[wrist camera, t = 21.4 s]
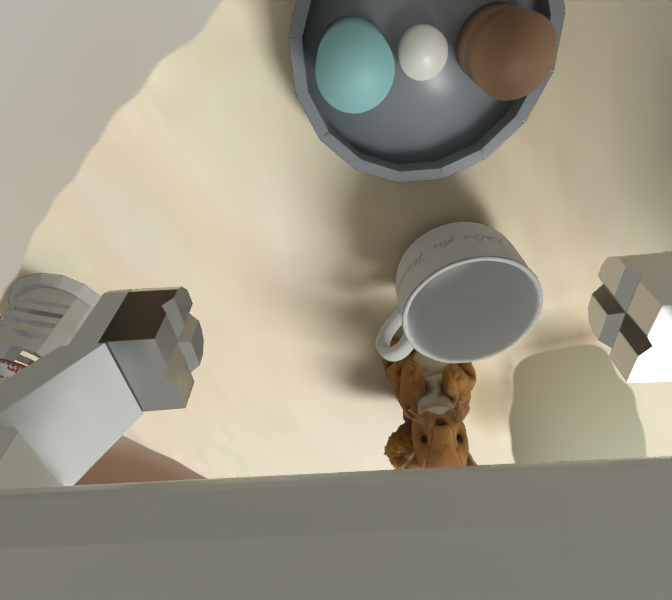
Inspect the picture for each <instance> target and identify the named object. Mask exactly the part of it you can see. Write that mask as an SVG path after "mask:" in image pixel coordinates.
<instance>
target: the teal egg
mask: <svg viewBox="0 0 672 600" xmlns="http://www.w3.org/2000/svg"><path fill="white" fill-rule="evenodd" d="M394 72H395V65H394V58H393V55H392V52H391V49H390V47H389V45H388V44H387V42H386V40H385V38H384V37H383V35H382V33H381V32H380V30H379V29H378V27H377V26H376V25H375V24H374V23H373V22H371V21H370V20H368V19H367V18H364V17H361V16H357V15H349V16H344V17H341V18H339V19H337V20H335V21H334V22H332V23H331V24H330V25H329V26H328V27H327V29H326V30H325V31H324V33H323V35H322V37H321V39H320V42H319V46H318V52H317V59H316V68H315V73H316V81H317V85H318V88H319V90H320V92H321V94H322V96H323V97H324V98H325V100H326V101H327V102H328V103H329V104H330V105H331V106H333V107H334V108H336V109H338V110H340V111H342V112H346V113H362V112H366V111H368V110H370V109H372V108H374V107H376V106H377V105H378V104H379V103H380V102H381V101H382V100H383V99H384V98H385V97H386V95H387V94H388V92H389V90H390V88H391V86H392V83H393V79H394Z"/></svg>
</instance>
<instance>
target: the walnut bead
mask: <svg viewBox="0 0 672 600" xmlns="http://www.w3.org/2000/svg"><path fill="white" fill-rule="evenodd" d="M557 48H558V41H557V35H556V31H555V29H554V27H553V25H552V23H551V22H550V21H549V20H548V19H547V18H546V17H545V16H544V15H542V14H540V13H538V12H535V11H532V10H528V9H525V8H522V7H519V6H516V5H513V4H509V3H506V2H491V3H488V4H485V5H483V6H481V7H479V8H478V9H476V10H475V11H474V12H473V13H472V14H471V15H470V16H469V17H468V18H467V19H466V21H465V22H464V24H463V25H462V27H461V29H460V32H459V34H458V38H457V42H456V57H457V61H458V63H459V66H460V67H461V69H462V70H463V72H464V73H465V74H466V75H467V76H468V77H469V78H470V79H472V80H473V81H474V82H475V83H476V84H477V85H478V86H479V87H480V88H481V89H482V90H483V91H484V92H485V93H486V94H487V95H489V96H490V97H492V98H495V99H498V100H504V101H509V100H515V99H519V98H522V97H524V96H526V95H528V94H530V93H531V92H532V91H534V90H535V89H536V88H537V87H539V86H540V85H541V84H542V82H543V81H544V80H545V79H546V77H547V76H548V74H549V73H550V71H551V69H552V67H553V65H554V62H555V59H556V55H557Z"/></svg>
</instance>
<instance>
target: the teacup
mask: <svg viewBox="0 0 672 600" xmlns="http://www.w3.org/2000/svg"><path fill="white" fill-rule="evenodd" d="M396 293H397V299H398V306H397V308H396V310H395V311H394V312H393V313H392V314H391V315H390V317H389V318H388V319H387V320H386V321H385V323H384V324H383V325H382V327H381V328H380V330H379V332H378V334H377V337H376V341H375V345H376V349H377V351H378V353H379V354H380V355H381V356H382V357H383V358H384V359H386V360H388V361H394V362H396V361H399V360H402V359H403V358H405V357H406V356H407V355H409V354H410V352H411V351H412V350H413V349H414V348H415V349H416V350H417V351H418V352H420V353H421V354H423V355H425V356H427V357H429V358H432V359H434V360H437V361H440V362H446V363H469V362H474V361H479V360H483V359H486V358H490V357H492V356H495V355H497V354H499V353H501V352H503V351H505V350H507V349H509V348H510V347H512V346H513V345H515V344H516V343H517V342H519V341H520V340H521V339H522V338H523V337H524V336H525V335H526V334H527V333H528V332H529V331H530V330H531V328H532V327H533V326H534V324H535V323H536V321H537V319H538V317H539V315H540V312H541V308H542V303H543V295H542V288H541V285H540V282H539V280H538V278H537V277H536V275H535V274H534V273H533V272H532V270H531V269H530V268H528V266H527V265H526V263H525V262H524V260H523V259H522V257H521V256H520V255H519V253H518V252H517V250H516V249H515V248H514V247H513V245H512V244H511V243H510V242H509V241H508V240H507V239H506V238H505V237H504V236H503V235H502V234H501V233H499V232H498V231H496V230H495V229H493V228H491V227H489V226H487V225H483V224H480V223H475V222H454V223H448V224H445V225H441V226H438V227H436V228H434V229H432V230H430V231H428V232H426V233H424V234H423V235H422V236H420V237H419V238H418V239H417V240H415V241H414V242H413V243H412V244H411V245H410V246H409V248H408V249H407V250H406V252H405V253H404V255H403V257H402V258H401V261H400V263H399V266H398V269H397V273H396ZM401 325H402V327H403V331H404V332H403V335H402V337H401V339H400V340H399V342H398V343H397V344H395V345H394V346H392V347H389V346H390V342H391V339H392V337H393V336H394V334H395V333H396V331H397V330H398V329H399V327H400V326H401Z"/></svg>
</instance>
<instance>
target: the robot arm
mask: <svg viewBox="0 0 672 600" xmlns="http://www.w3.org/2000/svg"><path fill="white" fill-rule="evenodd" d="M598 276H599V278H600V280H601V281H602V283H603V285H602V286H601V287H599V288H598V289H597V290H596V291H595V292H594V293H593V294H592V296H591V299H590V303H589V306H588V316H589V323H590V326H591V329H592V331H593V333H594V334H595V336H596V338H597V339H598V340H599V341H601V342H602V343H604V344H606V345H608V346H610V347H611V348H612V349H611V353H610V356H609V357H610V358H611V360H612V361H613V363H614V364H615V366H616V367H617V369H618V370H619V371H620V373H621V374H622V376H623V377H624V379H625V380H626V382H627V383H628V382H658V381H672V251H668V252H663V253H652V254H640V255H628V256H616V257H608V258H607V259H606V260H605V261H604V263H603V264H602V266H601V269H600V272H599V274H598ZM192 304H193V303H192V301H191V298H190V296H189V293H188V291H187V290H186V289H185V288H183V287H166V288H146V289H134V290H132V289H127V290H114V291H108V292H106V293H104V294H103V295H102V297H101V298H100V300H99V301H98V302H97V304H96V305H95V307H94V308H93V310H92V311H91V313H90V314H89V316H88V317H87V319H86V320H85V322H84V323H83V325H82V326H81V327H80V329H79V330H78V332H77V333H76V335H75V336H74V338H73V339H72V341H71V342H70V344H69V345H66V346H59V347H58V348H56V349H54V350H53V351H51V352H50V353H48V354H46V355H45V356H43V357H41V358H40V359H38V360H37V361H35V362H33V363H32V364H30V365H29V366H27V367H25V368H24V369H22V370H20V371H19V372H17V373H16V374H14V375H12V376H11V377H9V378H8V379H6V380H4V381H3V382H1V383H0V600H672V456H658V457H638V458H620V459H600V460H599V459H598V460H578V461H558V462H538V463H518V464H498V465H478V466H458V467H438V468H418V469H398V470H378V471H358V472H338V473H318V474H298V475H277V476H257V477H237V478H217V479H197V480H177V481H158V482H139V483H118V484H98V485H78V486H73V485H74V484H75V483H76V482H77V481H78V480H79V479H80V478H81V477H82V476H83V475H84V474H85V473H86V472H87V471H88V470H89V469H90V468H91V467H92V465H94V463H96V462H97V461H98V459H99V458H100V457H101V456H102V455H103V454H104V453H105V452H106V451H107V450H108V449H109V448H110V447H111V446H112V445H113V444H114V443H115V442H116V441H117V440H118V439H119V438H120V437H121V436H122V435H123V434H124V433H125V432H126V431H127V430H128V429H129V428H130V427H131V426H132V425H133V424H134V423H135V421H136V420H137V419H138V418H139V417H140V416H141V415H142V414H143V413H142V412H144V411H156V410H167V409H179V408H186V405H187V402H188V399H189V396H190V393H191V390H192V387H193V384H194V380H193V377H192V375H191V372H192V371H193V370H194V369H196V368H197V367H198V366H199V365H200V362H201V359H202V355H203V342H204V340H203V334H202V329H201V326H200V323H199V320H197V319H196V318H195V317H193V316H192V315H191V314H189V312H190V309H191V306H192Z"/></svg>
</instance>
